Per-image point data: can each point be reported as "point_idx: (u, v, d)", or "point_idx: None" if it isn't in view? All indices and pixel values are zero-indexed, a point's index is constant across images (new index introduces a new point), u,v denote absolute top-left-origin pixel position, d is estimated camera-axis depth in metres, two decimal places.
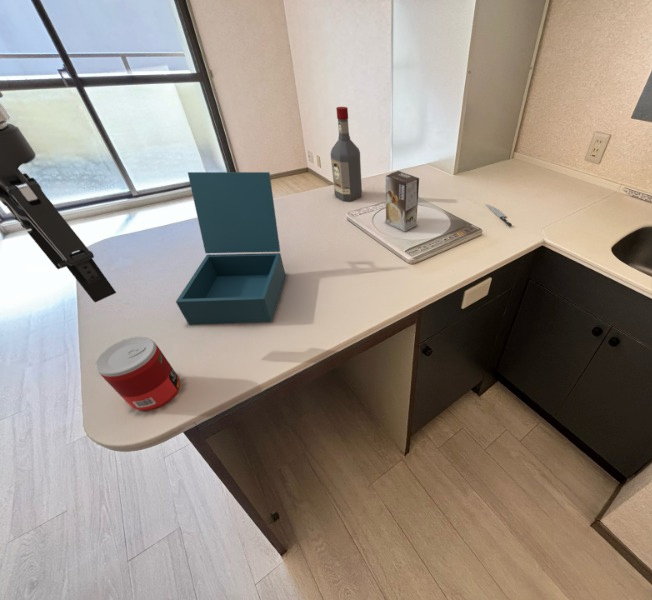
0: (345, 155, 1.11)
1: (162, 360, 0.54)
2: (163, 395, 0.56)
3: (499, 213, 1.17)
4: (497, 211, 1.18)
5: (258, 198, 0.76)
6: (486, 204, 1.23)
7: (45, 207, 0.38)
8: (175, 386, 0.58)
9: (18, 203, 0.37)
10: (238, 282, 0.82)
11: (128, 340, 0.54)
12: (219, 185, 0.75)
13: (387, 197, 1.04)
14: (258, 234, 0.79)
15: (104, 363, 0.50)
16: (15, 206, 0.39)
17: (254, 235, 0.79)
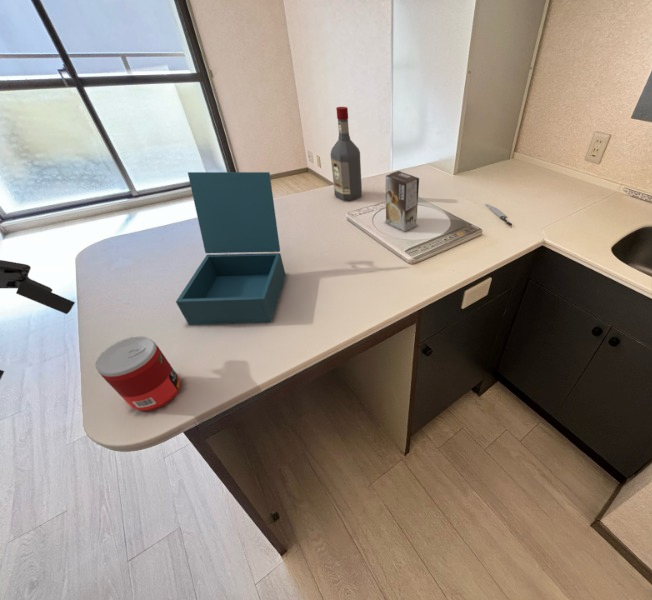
0: (345, 155, 1.11)
1: (162, 360, 0.54)
2: (163, 395, 0.56)
3: (499, 213, 1.17)
4: (497, 211, 1.18)
5: (258, 198, 0.76)
6: (486, 204, 1.23)
7: None
8: (175, 386, 0.58)
9: None
10: (238, 282, 0.82)
11: (128, 340, 0.54)
12: (219, 185, 0.75)
13: (387, 197, 1.04)
14: (258, 234, 0.79)
15: (104, 363, 0.50)
16: None
17: (254, 235, 0.79)
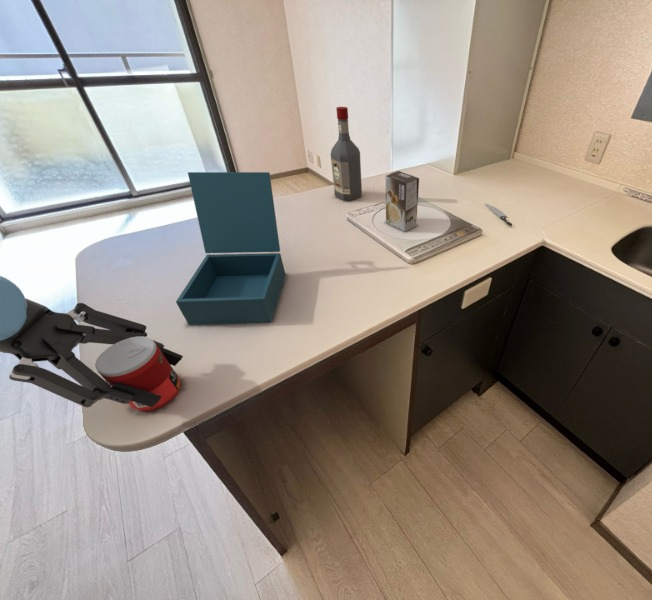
0: (345, 155, 1.11)
1: (162, 360, 0.54)
2: (163, 395, 0.56)
3: (499, 213, 1.17)
4: (497, 211, 1.18)
5: (258, 198, 0.76)
6: (486, 204, 1.23)
7: None
8: (175, 386, 0.58)
9: (88, 312, 0.52)
10: (238, 282, 0.82)
11: (128, 340, 0.54)
12: (219, 185, 0.75)
13: (387, 197, 1.04)
14: (258, 234, 0.79)
15: (104, 363, 0.50)
16: None
17: (254, 235, 0.79)
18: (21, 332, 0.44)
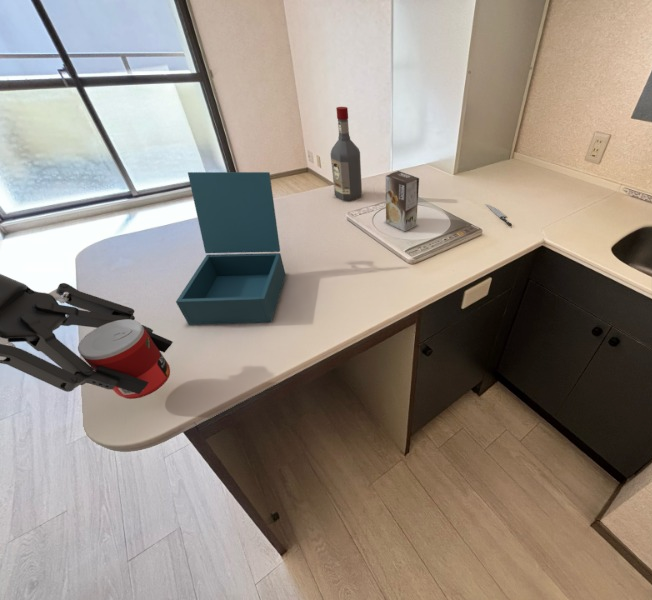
0: (345, 155, 1.11)
1: (150, 344, 0.52)
2: (150, 382, 0.53)
3: (499, 213, 1.17)
4: (497, 211, 1.18)
5: (258, 198, 0.76)
6: (486, 204, 1.23)
7: None
8: (164, 373, 0.55)
9: (71, 293, 0.50)
10: (238, 282, 0.82)
11: (114, 323, 0.51)
12: (219, 185, 0.75)
13: (387, 197, 1.04)
14: (258, 234, 0.79)
15: (88, 346, 0.47)
16: None
17: (254, 235, 0.79)
18: None
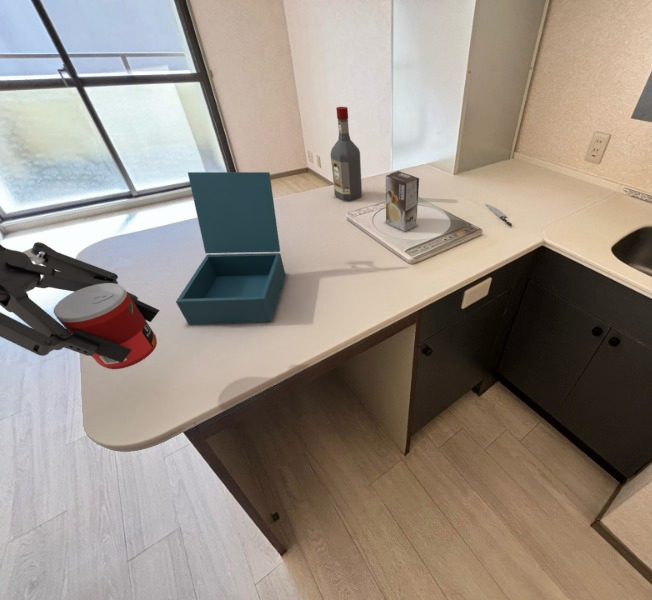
0: (345, 155, 1.11)
1: (134, 310, 0.48)
2: (134, 351, 0.49)
3: (499, 213, 1.17)
4: (497, 211, 1.18)
5: (258, 198, 0.76)
6: (486, 204, 1.23)
7: None
8: (150, 343, 0.51)
9: (48, 253, 0.46)
10: (238, 282, 0.82)
11: (94, 286, 0.47)
12: (219, 185, 0.75)
13: (387, 197, 1.04)
14: (258, 234, 0.79)
15: (64, 309, 0.44)
16: None
17: (254, 235, 0.79)
18: None
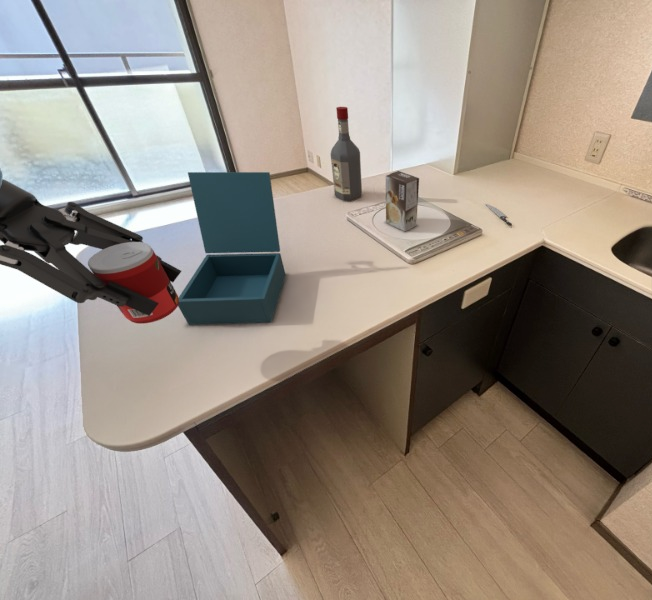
0: (345, 155, 1.11)
1: (159, 267, 0.51)
2: (160, 306, 0.52)
3: (499, 213, 1.17)
4: (497, 211, 1.18)
5: (258, 198, 0.76)
6: (486, 204, 1.23)
7: None
8: (173, 300, 0.55)
9: (80, 212, 0.49)
10: (238, 282, 0.82)
11: (123, 244, 0.51)
12: (219, 185, 0.75)
13: (387, 197, 1.04)
14: (258, 234, 0.79)
15: (97, 262, 0.47)
16: None
17: (254, 235, 0.79)
18: (7, 212, 0.41)
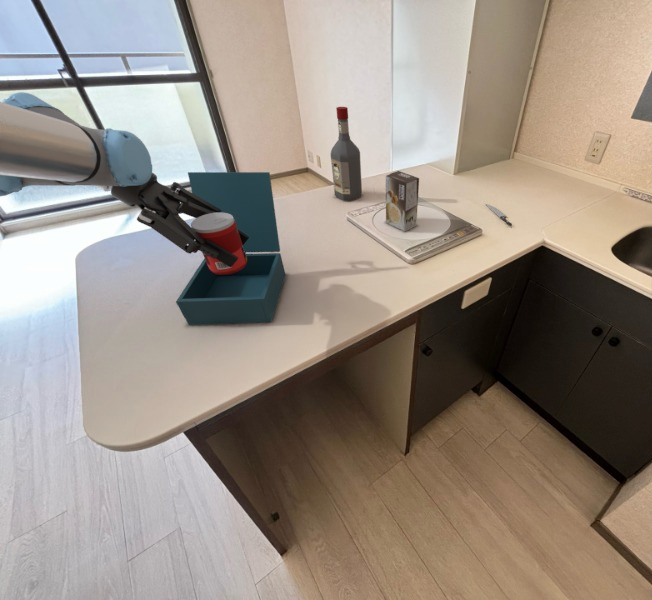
0: (345, 155, 1.11)
1: (237, 231, 0.69)
2: (237, 261, 0.70)
3: (499, 213, 1.17)
4: (497, 211, 1.18)
5: (258, 198, 0.76)
6: (486, 204, 1.23)
7: None
8: (244, 258, 0.72)
9: (181, 189, 0.66)
10: (238, 282, 0.82)
11: (211, 214, 0.68)
12: (219, 185, 0.75)
13: (387, 197, 1.04)
14: (258, 234, 0.79)
15: (197, 225, 0.64)
16: None
17: (254, 235, 0.79)
18: (145, 186, 0.58)
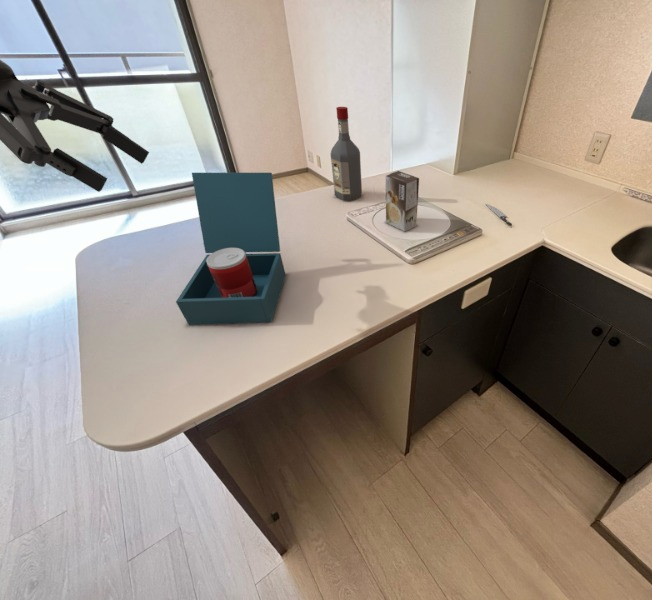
0: (345, 155, 1.11)
1: (249, 265, 0.74)
2: (248, 292, 0.75)
3: (499, 213, 1.17)
4: (497, 211, 1.18)
5: (260, 198, 0.78)
6: (486, 204, 1.23)
7: None
8: (255, 288, 0.77)
9: (51, 90, 0.54)
10: None
11: (224, 249, 0.73)
12: (222, 185, 0.76)
13: (387, 197, 1.04)
14: (259, 234, 0.80)
15: (212, 262, 0.70)
16: None
17: (255, 235, 0.80)
18: None
